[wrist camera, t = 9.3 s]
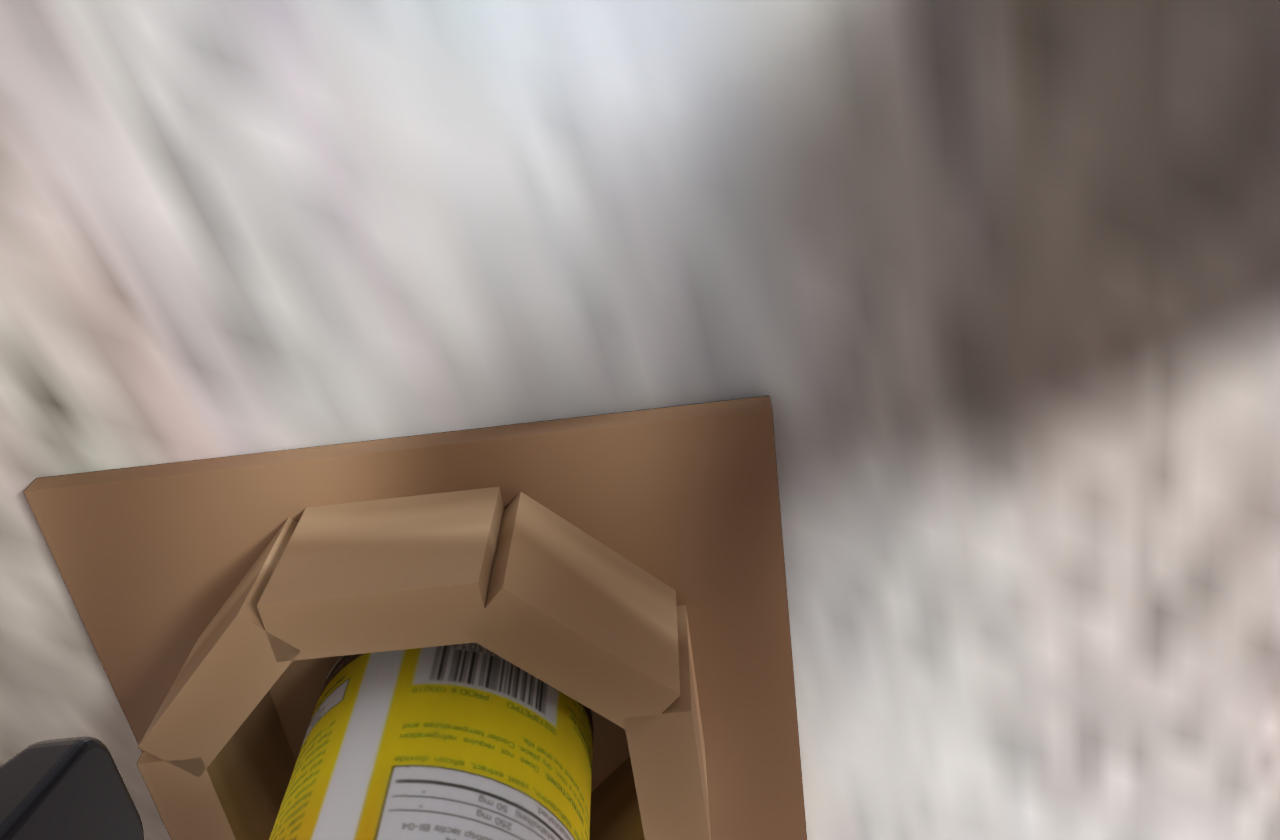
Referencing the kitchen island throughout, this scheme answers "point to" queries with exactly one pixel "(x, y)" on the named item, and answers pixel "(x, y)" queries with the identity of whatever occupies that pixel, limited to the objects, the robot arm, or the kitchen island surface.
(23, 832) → the robot arm
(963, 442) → the kitchen island surface
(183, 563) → the caddy
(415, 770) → the supplement bottle
